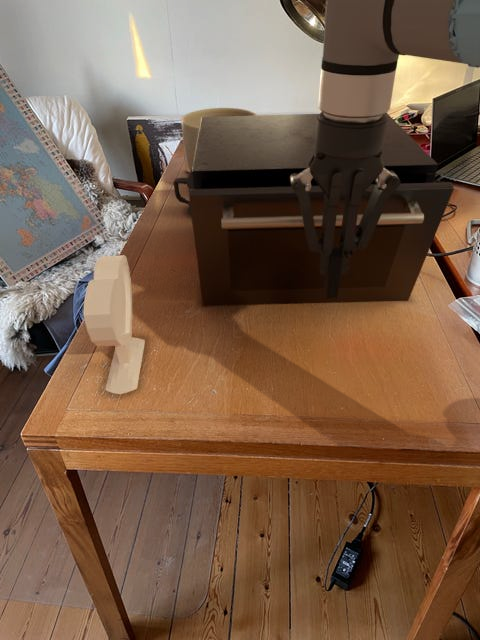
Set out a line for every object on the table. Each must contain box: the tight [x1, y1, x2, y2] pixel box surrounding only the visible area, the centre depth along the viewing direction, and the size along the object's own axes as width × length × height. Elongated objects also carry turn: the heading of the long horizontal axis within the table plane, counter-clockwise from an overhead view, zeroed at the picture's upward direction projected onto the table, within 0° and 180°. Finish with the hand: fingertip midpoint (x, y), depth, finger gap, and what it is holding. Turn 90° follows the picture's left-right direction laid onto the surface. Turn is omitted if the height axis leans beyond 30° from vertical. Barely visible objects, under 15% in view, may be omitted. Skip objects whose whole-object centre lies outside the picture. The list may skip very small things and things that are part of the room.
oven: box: [192, 112, 439, 189], centre depth 95 cm, size 32×40×26 cm
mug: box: [173, 169, 193, 217], centre depth 119 cm, size 12×9×11 cm
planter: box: [180, 107, 258, 171], centre depth 130 cm, size 21×21×19 cm
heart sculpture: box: [83, 254, 146, 395], centre depth 71 cm, size 16×5×18 cm, turn 3°
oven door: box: [188, 181, 455, 307], centre depth 78 cm, size 5×40×26 cm, turn 91°
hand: (330, 292), depth 64 cm, fingers closed
